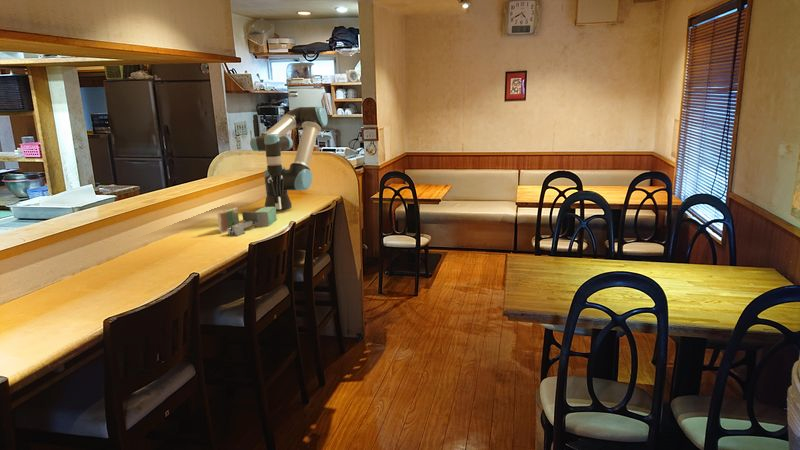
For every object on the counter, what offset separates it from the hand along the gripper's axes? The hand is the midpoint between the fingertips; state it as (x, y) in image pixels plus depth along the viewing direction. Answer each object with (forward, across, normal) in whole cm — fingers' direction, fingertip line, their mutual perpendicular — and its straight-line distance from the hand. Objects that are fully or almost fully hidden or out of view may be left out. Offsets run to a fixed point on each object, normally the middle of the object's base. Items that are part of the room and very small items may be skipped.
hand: (278, 208), depth 279 cm
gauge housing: (+5, +29, -3) cm, 30 cm away
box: (+5, +12, +1) cm, 13 cm away
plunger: (+3, +28, -1) cm, 28 cm away
